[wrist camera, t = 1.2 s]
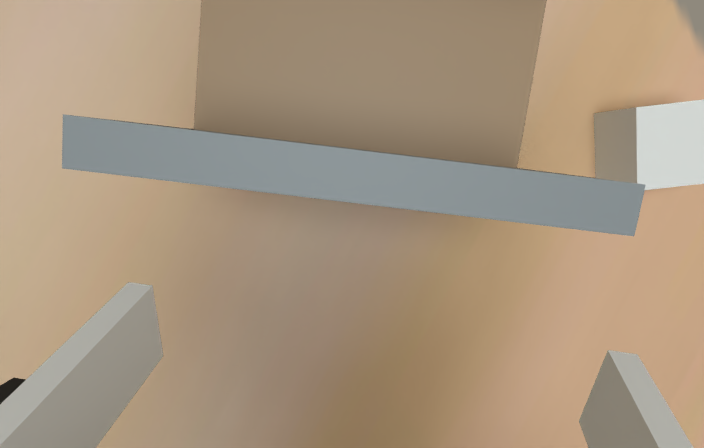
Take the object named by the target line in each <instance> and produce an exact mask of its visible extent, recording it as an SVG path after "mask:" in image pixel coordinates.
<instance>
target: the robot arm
mask: <svg viewBox="0 0 704 448" xmlns="http://www.w3.org/2000/svg"><path fill="white" fill-rule="evenodd" d="M162 357H163V350H162V344H161V337H160V331H159V324H158V318H157V312H156V305H155V299H154V292H153V286H152V285H145V284H138V283H131V282H128V283H127V284H126V285H125V286H124V287H123V288H122V289H121V290H120V291H119V292H118V293H117V294H116V295H115V296H113V297H112V298H111V299H110V300H109V301H108V302H107V303H106V304H105V305H104V306H103V307H102V308H101V309H100V310H99V311H98V312H97V313H96V314H95V315H94V316H93V317H91V318H90V319H89V320H88V321H87V322H86V323H85V324H84V325H83V326H82V327H81V328H80V329H79V330H78V331H77V332H76V333H75V334H74V335H73V336H72V337H70V338H69V339H68V340H67V341H66V342H65V343H64V344H63V345H62V346H61V347H60V348H59V349H58V350H57V351H56V352H55V353H54V354H53V355H52V356H51V357H49V358H48V359H47V360H46V361H45V362H44V363H43V364H42V365H41V366H40V367H39V368H38V369H37V370H36V371H35V372H34V373H33V374H32V375H31V376H30V377H28V378H27V379H26V380H25V379H19V378H13V379H11V380H9V381H7V382H6V383H4V384H2V385H0V448H96V447H97V445H98V444H99V443H100V441H101V440H102V439H103V437H104V436H105V434H106V433H107V432H108V430H109V429H110V428H111V426H112V425H113V424H114V422H115V421H116V420H117V418H118V417H119V415H120V414H121V413H122V411H123V410H124V409H125V407H126V406H127V405H128V403H129V402H130V400H131V399H132V398H133V396H134V395H135V394H136V392H137V391H138V390H139V388H140V387H141V385H142V384H143V383H144V381H145V380H146V379H147V377H148V376H149V375H150V373H151V372H152V371H153V369H154V368H155V366H156V365H157V364H158V362H159V361H160V360H161V358H162ZM579 423H580V425H581V428H582V431H583V434H584V436H585V439H586V442H587V444H588V447H589V448H693V446H692V445H691V443H690V441H689V440H688V438H687V436H686V435H685V433H684V431H683V430H682V428H681V426H680V425H679V423H678V421H677V420H676V418H675V416H674V415H673V413H672V411H671V410H670V408H669V406H668V405H667V403H666V401H665V400H664V398H663V396H662V395H661V393H660V391H659V390H658V388H657V386H656V385H655V383H654V381H653V380H652V378H651V376H650V375H649V373H648V371H647V370H646V368H645V366H644V365H643V363H642V361H641V360H640V358H639V356H638V355H637V354H631V353H624V352H617V351H610V350H608V351H607V354H606V356H605V359H604V361H603V363H602V366H601V368H600V371H599V373H598V376H597V378H596V381H595V383H594V385H593V388H592V390H591V393H590V395H589V398H588V400H587V403H586V405H585V407H584V410H583V412H582V415H581V417H580V420H579Z"/></svg>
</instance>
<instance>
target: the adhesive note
mask: <svg viewBox="0 0 704 448" xmlns="http://www.w3.org/2000/svg"><path fill="white" fill-rule="evenodd" d="M594 139H595V176H596V178H598V179H606V180H614V181H621V182H629V183H637V184H645V185H646V186H645V190H650V189H659V188H668V187H677V186H686V185H695V184H704V100H696V101H687V102H679V103H670V104H662V105H653V106H644V107H636V108H629V109H622V110H614V111H607V112H600V113H594Z"/></svg>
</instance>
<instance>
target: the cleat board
mask: <svg viewBox="0 0 704 448" xmlns="http://www.w3.org/2000/svg"><path fill="white" fill-rule="evenodd" d="M546 1H547V0H202V2H201V18H200V35H199V52H198V68H197V85H196V102H195V118H194V129H188V128H179V127H170V126H161V125H152V124H143V123H134V122H125V121H116V120H107V119H98V118H89V117H80V116H72V115H63V148H62V168H64V169H72V170H81V171H89V172H98V173H106V174H114V175H123V176H131V177H140V178H148V179H157V180H165V181H173V182H182V183H190V184H199V185H207V186H216V187H224V188H232V189H241V190H249V191H258V192H266V193H274V194H283V195H291V196H300V197H308V198H317V199H325V200H333V201H342V202H350V203H359V204H367V205H375V206H384V207H392V208H401V209H409V210H418V211H426V212H434V213H443V214H451V215H460V216H468V217H477V218H485V219H493V220H502V221H510V222H519V223H527V224H535V225H544V226H552V227H561V228H569V229H578V230H586V231H594V232H603V233H611V234H620V235H628V236H634V235H635V230H636V226H637V221H638V217H639V212H640V208H641V203H642V199H643V195H644V190H645V186H646V185H645V184H637V183H629V182H621V181H614V180H606V179H598V178H590V177H583V176H575V175H567V174H559V173H552V172H544V171H536V170H528V169H520V168H517V164H518V159H519V153H520V147H521V142H522V136H523V131H524V125H525V119H526V114H527V108H528V102H529V97H530V91H531V85H532V80H533V74H534V69H535V63H536V57H537V52H538V46H539V40H540V35H541V29H542V23H543V18H544V12H545V6H546Z"/></svg>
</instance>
